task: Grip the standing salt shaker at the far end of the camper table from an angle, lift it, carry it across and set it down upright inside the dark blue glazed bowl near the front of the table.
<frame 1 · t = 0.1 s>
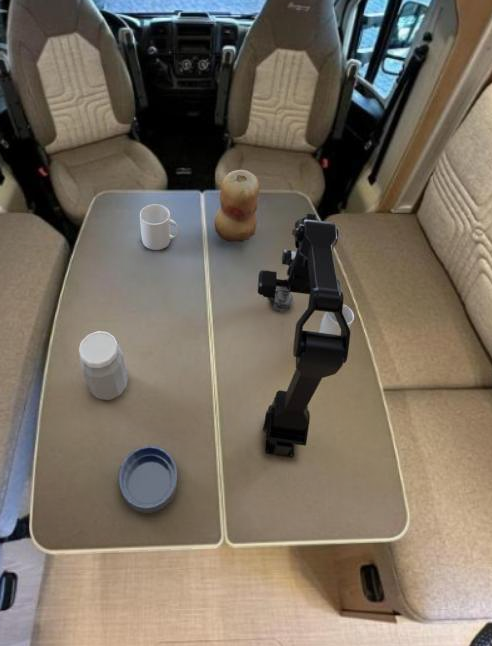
hand: (291, 307, 103), 15 cm above the table, tool pointing down, fingers open, 9 cm apart
mug: (160, 241, 138), on the table
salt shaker: (280, 304, 122), on the table
drinking glass: (324, 345, 113), on the table
jar: (108, 383, 105), on the table
bowl: (149, 482, 90), on the table
butternut squash: (233, 237, 140), on the table
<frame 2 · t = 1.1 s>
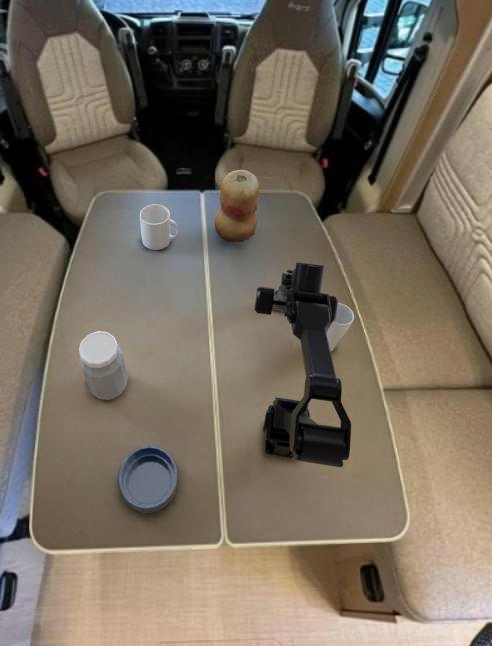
hand: (290, 299, 106), 13 cm above the table, tool tilted 45°, fingers open, 9 cm apart
nothing on the table moved.
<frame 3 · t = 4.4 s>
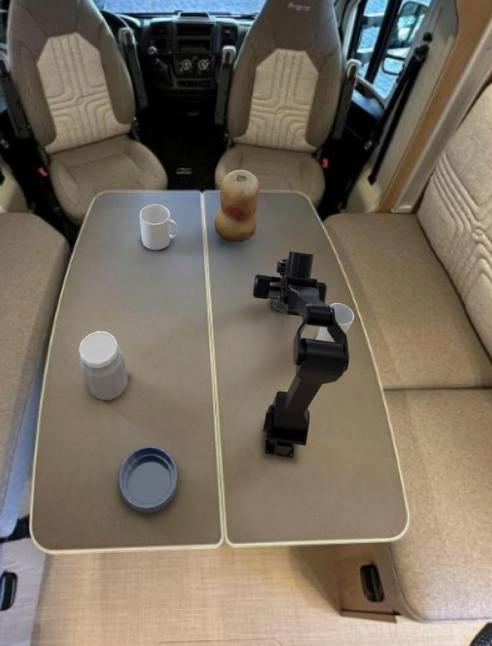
hand: (284, 286, 118), 7 cm above the table, tool tilted 45°, fingers closed on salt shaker, 3 cm apart
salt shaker: (280, 304, 122), on the table, touching gripper
everything else where it was.
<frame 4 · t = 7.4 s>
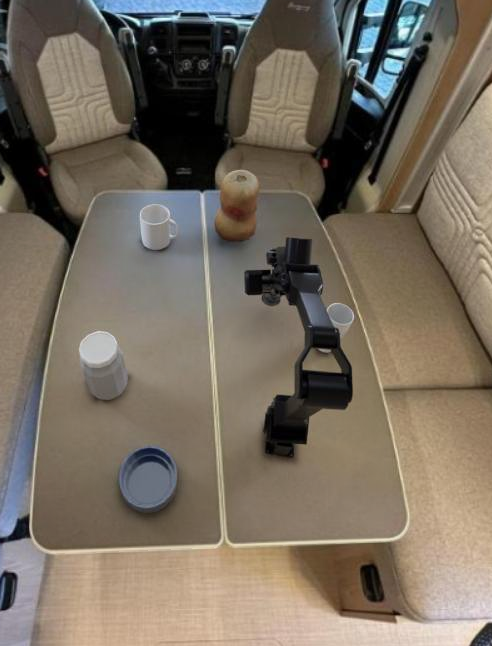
hand: (273, 279, 111), 13 cm above the table, tool tilted 45°, fingers closed on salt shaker, 3 cm apart
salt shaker: (270, 299, 115), point 7 cm above the table, touching gripper
everything else where it was.
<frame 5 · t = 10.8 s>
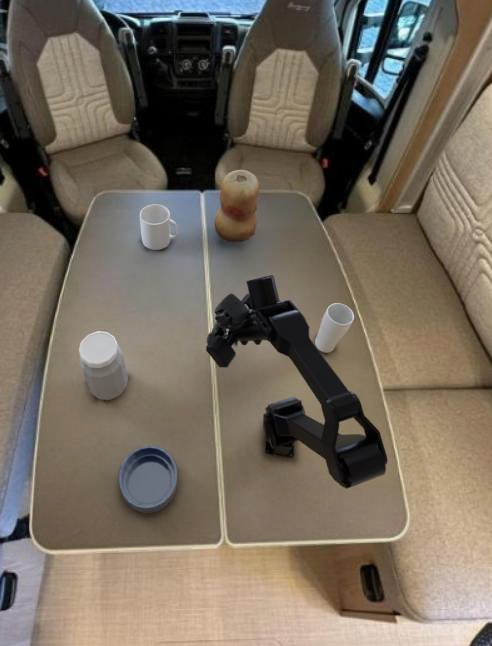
hand: (214, 330, 100), 13 cm above the table, tool tilted 45°, fingers closed on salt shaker, 3 cm apart
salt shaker: (217, 348, 104), point 6 cm above the table, touching gripper
everything else where it was.
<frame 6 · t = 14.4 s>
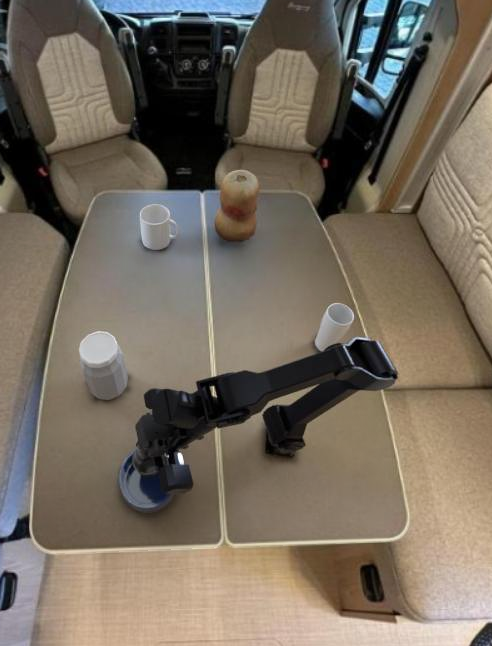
hand: (139, 455, 81), 13 cm above the table, tool tilted 45°, fingers closed on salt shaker, 3 cm apart
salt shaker: (148, 464, 86), point 6 cm above the table, touching gripper
everything else where it was.
when the fingers open (7 cm above the table, at t = 17.1 s): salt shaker stays where it is, resting on bowl.
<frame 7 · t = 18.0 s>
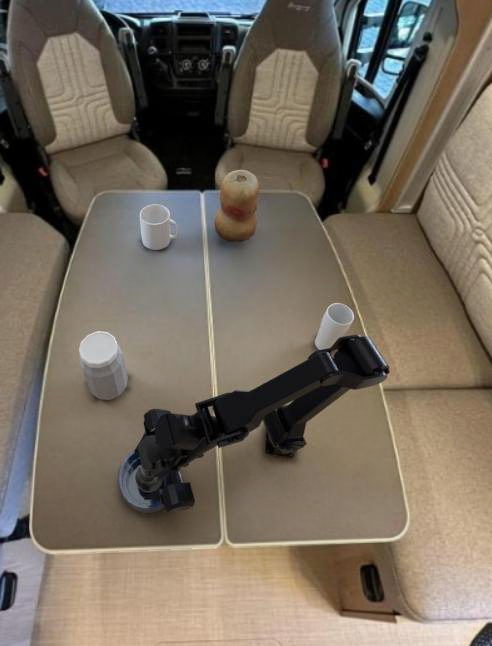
hand: (140, 474, 84), 8 cm above the table, tool tilted 45°, fingers open, 9 cm apart
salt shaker: (150, 481, 90), resting on bowl
everything else where it was.
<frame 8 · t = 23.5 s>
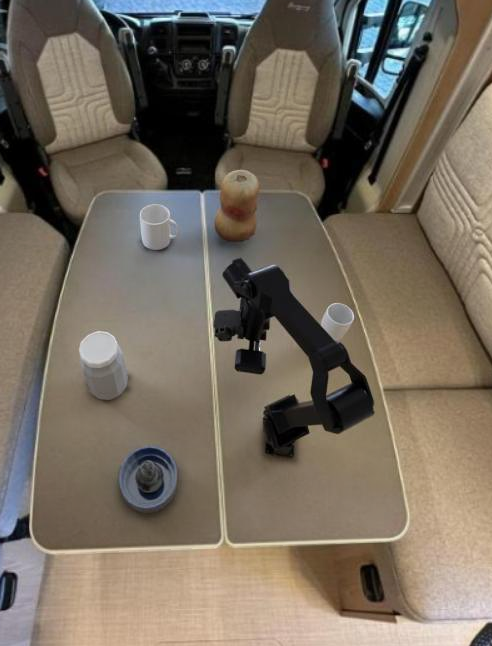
hand: (247, 351, 97), 13 cm above the table, tool pointing down, fingers open, 9 cm apart
nothing on the table moved.
at the end: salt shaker inside the target area in the bowl (0.2 cm from its centre), point 0.4 cm above the bowl's base; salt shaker tilted 0°; the gripper is holding nothing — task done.
